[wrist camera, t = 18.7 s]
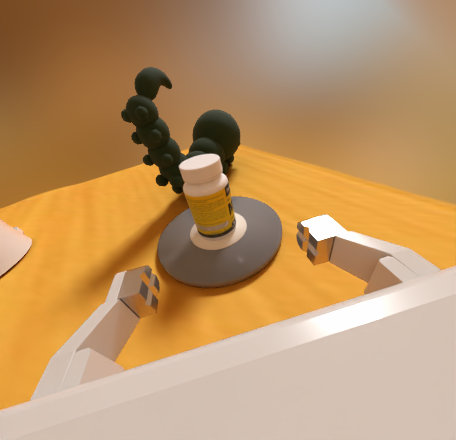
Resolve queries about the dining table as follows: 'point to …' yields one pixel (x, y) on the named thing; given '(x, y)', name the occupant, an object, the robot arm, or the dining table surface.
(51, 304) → the dining table surface
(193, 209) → the supplement bottle
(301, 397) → the robot arm
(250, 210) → the charcoal plate
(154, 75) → the toy figurine
